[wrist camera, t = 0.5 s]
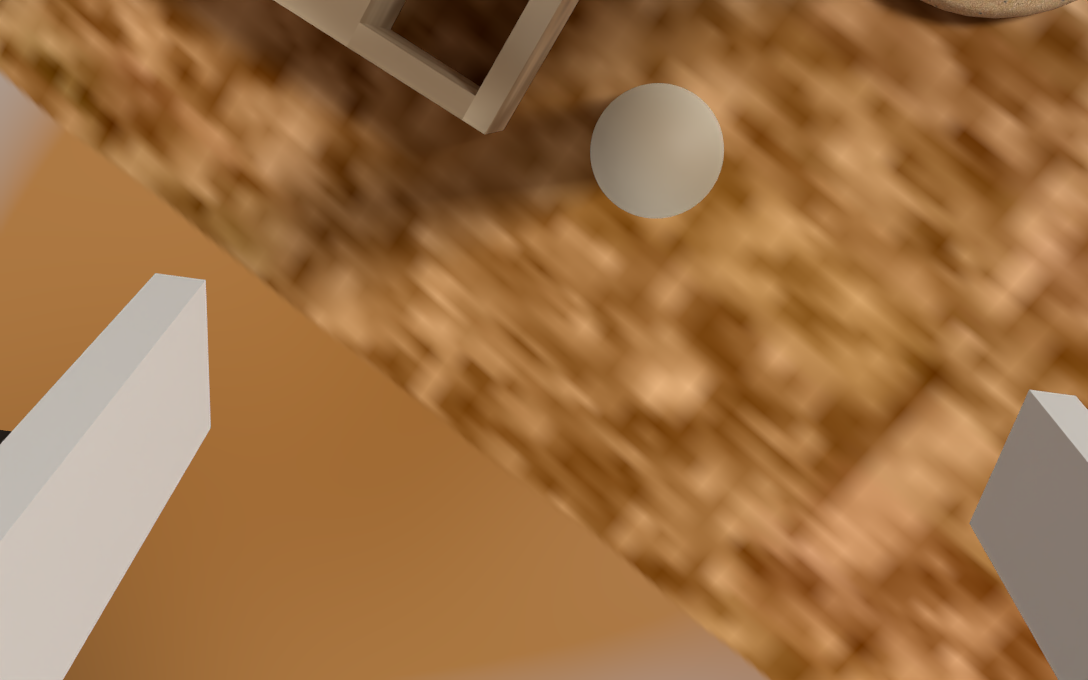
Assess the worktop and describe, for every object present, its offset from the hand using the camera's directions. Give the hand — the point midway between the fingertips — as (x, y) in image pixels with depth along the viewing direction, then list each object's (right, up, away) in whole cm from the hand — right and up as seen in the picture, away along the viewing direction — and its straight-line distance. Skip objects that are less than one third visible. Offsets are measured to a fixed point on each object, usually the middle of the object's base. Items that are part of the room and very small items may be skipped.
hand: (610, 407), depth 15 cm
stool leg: (+4, +10, +23) cm, 25 cm away
